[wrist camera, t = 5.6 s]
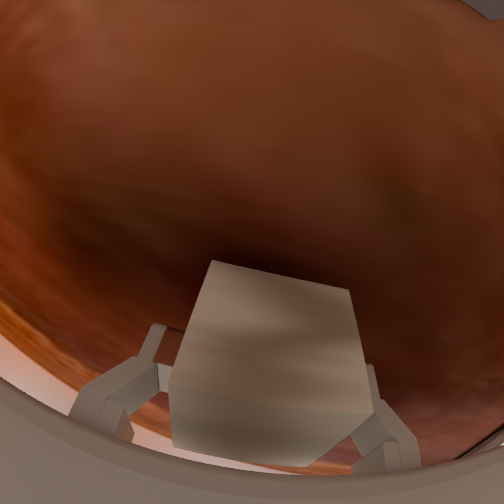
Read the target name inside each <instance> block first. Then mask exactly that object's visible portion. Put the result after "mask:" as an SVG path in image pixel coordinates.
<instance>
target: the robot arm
mask: <svg viewBox="0 0 504 504" xmlns="http://www.w3.org/2000/svg"><path fill="white" fill-rule="evenodd" d="M185 332H186V331H182V330H179V329H175V328H172V327H168V326H165V325H161V324H158V323H154V324H153V325H152V326H151V328H150V330H149V332H148V334H147V337H146V339H145V341H144V343H143V345H142V347H141V350H140V352H139V354H138V356H137V357H135V356H132V357H131V358H129V359H127V360H126V361H124V362H122V363H121V364H119V365H117V366H116V367H114V368H112V369H111V370H109V371H107V372H106V373H104V374H102V375H100V376H99V377H97V378H95V379H94V380H92V381H90V382H88V383H87V384H85V385H83V386H82V388H81V390H80V392H79V394H78V396H77V398H76V400H75V402H74V404H73V406H72V408H71V410H70V413H69V415H68V416H66V415H64V414H62V413H60V412H58V411H56V410H54V409H52V408H51V407H49V406H47V405H45V404H43V403H42V402H40V401H38V400H36V399H35V398H33V397H31V396H29V395H28V394H26V393H25V392H23V391H21V390H19V389H18V388H17V387H15V386H14V385H12V384H10V383H9V382H7V381H6V380H4V379H3V378H2V377H0V504H504V445H500V446H497V447H495V448H492V449H489V450H486V451H483V452H480V453H476V454H473V455H470V456H466V457H463V458H459V459H455V460H451V461H447V462H443V463H438V464H434V465H429V466H424V467H422V466H421V460H420V454H419V448H418V443H417V438H416V437H415V436H414V435H413V434H412V433H411V431H410V430H409V429H408V428H407V427H406V425H405V424H404V423H403V422H402V421H401V420H400V418H399V417H398V416H397V415H396V414H395V413H394V411H393V410H392V409H391V408H390V407H389V405H388V404H387V403H386V402H385V401H384V400H383V399H380V395H379V390H378V385H377V381H376V376H375V371H374V367H373V365H372V364H365V365H366V370H367V375H368V381H369V386H370V392H371V398H372V404H373V410H374V413H373V414H372V415H371V416H370V417H369V418H368V419H366V420H365V421H364V422H363V423H362V424H361V425H360V426H358V427H357V428H356V429H355V430H354V431H353V432H351V433H350V434H349V435H350V437H351V439H352V440H353V442H354V443H355V445H356V447H357V448H358V450H359V452H360V453H361V455H362V456H363V458H361V459H360V460H358V461H356V462H355V463H353V464H352V465H351V472H352V475H340V476H308V475H286V474H273V473H263V472H254V471H246V470H239V469H233V468H227V467H221V466H216V465H211V464H205V463H201V462H196V461H192V460H187V459H184V458H180V457H176V456H172V455H168V454H164V453H161V452H158V451H154V450H151V449H148V448H145V447H142V446H139V445H136V444H133V443H132V440H133V436H134V431H133V428H132V426H131V423H130V420H129V418H128V416H130V415H131V414H132V413H133V412H135V411H136V410H137V409H138V408H140V407H141V406H142V405H143V404H145V403H146V402H147V401H148V400H150V399H151V398H152V397H153V396H154V395H156V394H157V393H158V392H159V390H160V391H163V392H167V393H169V392H168V381H169V378H170V375H171V372H172V369H173V366H174V363H175V360H176V357H177V354H178V351H179V349H180V346H181V343H182V340H183V337H184V334H185Z"/></svg>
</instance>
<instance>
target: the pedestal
mask: <svg viewBox="0 0 504 504" xmlns="http://www.w3.org/2000/svg"><path fill="white" fill-rule="evenodd" d="M462 1H463V2H465V3H466V4H468V5H469V6H471V7H472V8H473V9H475V10H476V11H478V12H479V13H480V14H482V15H483V16H484V17H486V18H487V19H488V20H497V19H504V0H462Z"/></svg>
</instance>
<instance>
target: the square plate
mask: <svg viewBox="0 0 504 504" xmlns="http://www.w3.org/2000/svg"><path fill="white" fill-rule="evenodd" d="M500 445H504V428H503V429H502V430H500V431H499V432H497V433H496V434H494V435H493V436H491V437H490V438H489V439H487V440H486V441H485V442H483V443H482V444H480V445H479V446H477V447H476V448H475V449H473V450H472V451H470V452H469V453H467V454H465V455H464V456H462V457H461V458H463V457H466V456H470V455H473V454H476V453H480V452H483V451H486V450H489V449H492V448H495V447H497V446H500Z"/></svg>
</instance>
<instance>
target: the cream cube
mask: <svg viewBox="0 0 504 504" xmlns="http://www.w3.org/2000/svg"><path fill="white" fill-rule="evenodd" d="M168 392H169V408H170V421H171V433H172V443H173V447H176V448H180V449H184V450H188V451H192V452H197V453H201V454H206V455H210V456H216V457H221V458H226V459H232V460H238V461H245V462H252V463H260V464H270V465H280V466H294V467H307V466H308V465H310V464H311V463H312V462H314V461H315V460H317V459H318V458H319V457H321V456H322V455H323V454H325V453H326V452H327V451H329V450H330V449H331V448H333V447H334V446H335V445H337V444H338V443H339V442H340V441H342V440H343V439H344V438H345V437H347V436H348V435H349V434H350V433H351V432H353V431H354V430H355V429H356V428H357V427H358V426H360V425H361V424H362V423H363V422H364V421H365V420H366V419H368V418H369V417H370V416H371V415H372V414H373V413H374V410H373V404H372V398H371V392H370V386H369V381H368V375H367V370H366V365H365V360H364V355H363V350H362V345H361V340H360V336H359V331H358V327H357V322H356V318H355V314H354V310H353V306H352V301H351V297H350V293H349V290H348V289H343V288H338V287H333V286H328V285H324V284H319V283H314V282H310V281H305V280H300V279H296V278H291V277H286V276H282V275H277V274H272V273H268V272H263V271H259V270H254V269H250V268H245V267H241V266H236V265H232V264H228V263H223V262H219V261H214V260H212V261H211V264H210V266H209V269H208V271H207V274H206V277H205V279H204V282H203V285H202V287H201V290H200V293H199V296H198V298H197V301H196V304H195V306H194V309H193V312H192V315H191V318H190V320H189V323H188V326H187V329H186V332H185V334H184V337H183V340H182V343H181V346H180V349H179V351H178V354H177V357H176V360H175V363H174V366H173V369H172V372H171V375H170V378H169V381H168Z"/></svg>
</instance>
